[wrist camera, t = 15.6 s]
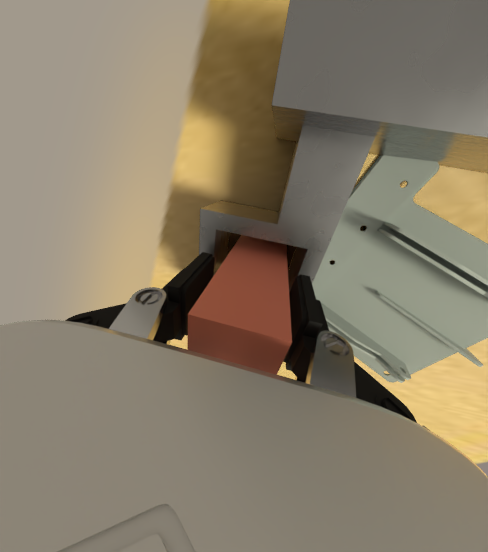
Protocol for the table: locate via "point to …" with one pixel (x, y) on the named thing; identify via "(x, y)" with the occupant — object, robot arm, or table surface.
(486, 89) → the grey socket fixture
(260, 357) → the red rectangular block
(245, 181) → the table surface
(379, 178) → the metal bracket
